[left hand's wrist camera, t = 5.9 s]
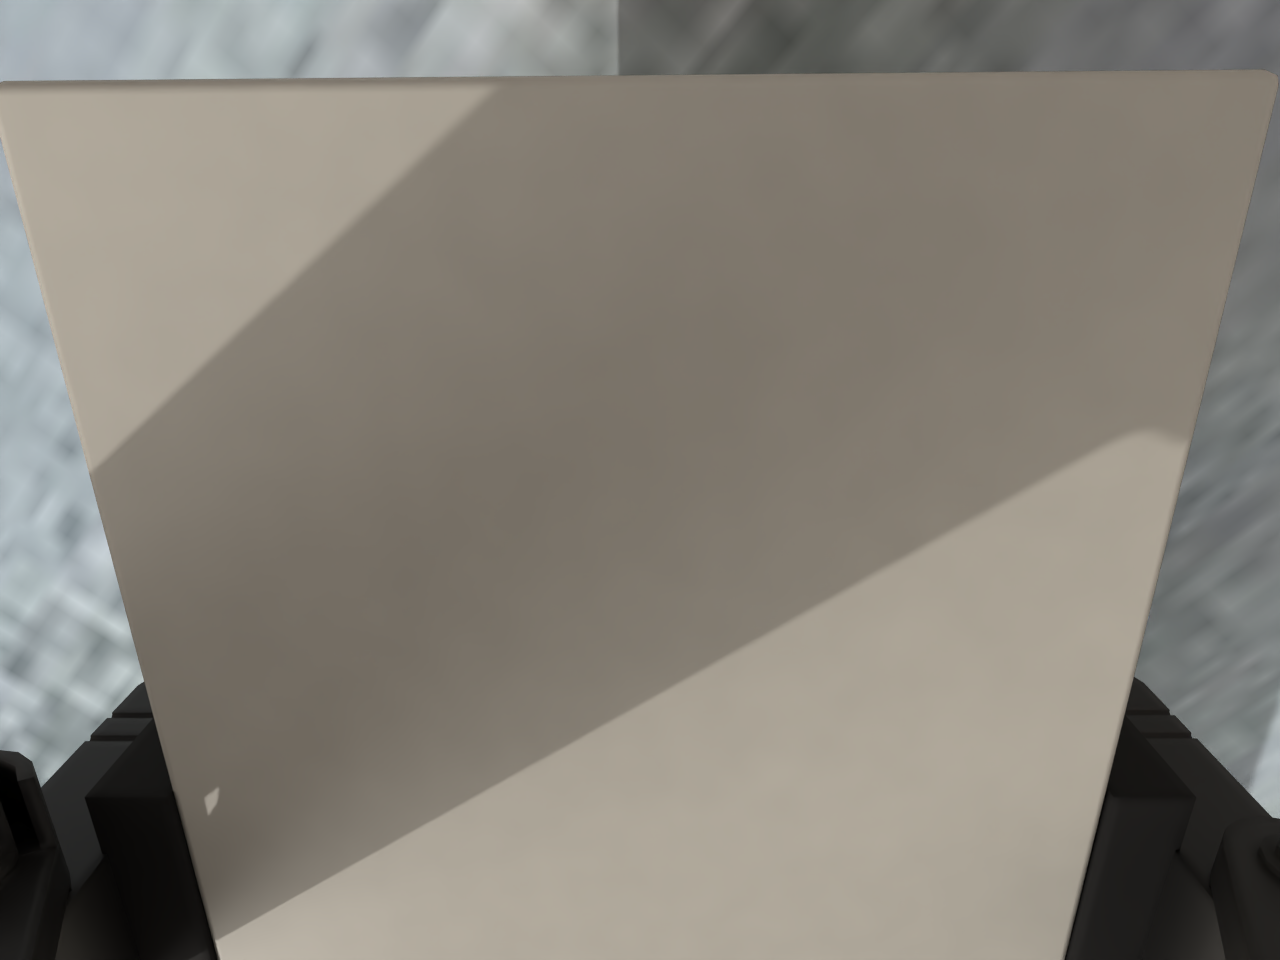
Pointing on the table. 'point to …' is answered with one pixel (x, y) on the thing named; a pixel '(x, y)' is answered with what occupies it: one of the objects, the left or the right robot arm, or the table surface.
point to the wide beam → (638, 486)
